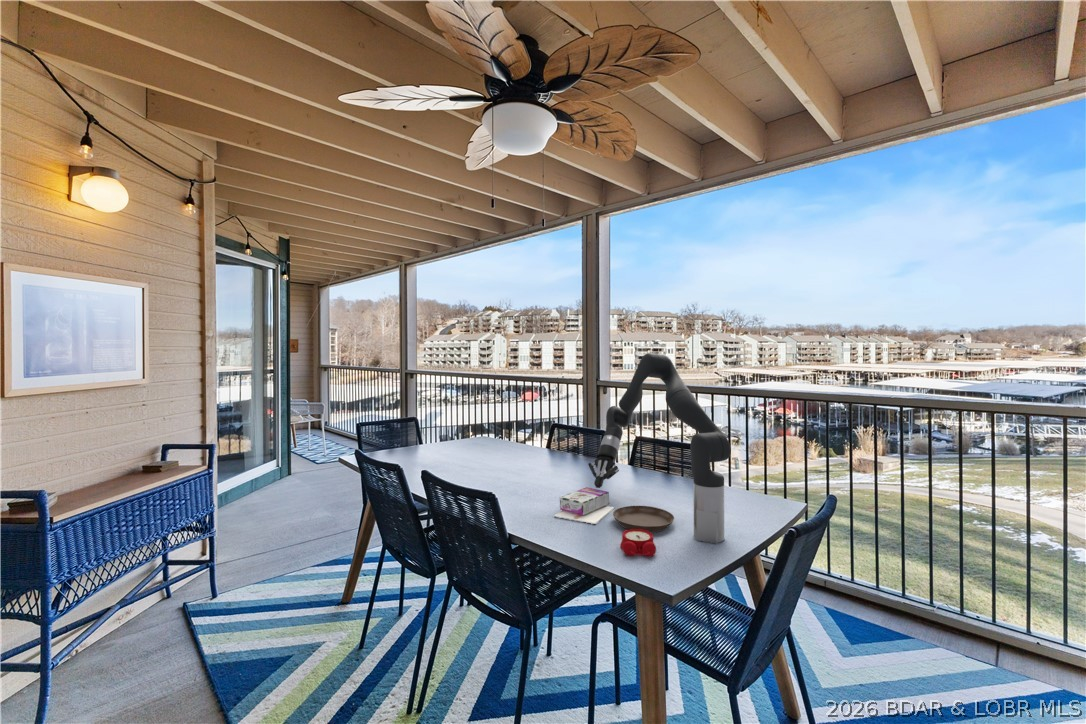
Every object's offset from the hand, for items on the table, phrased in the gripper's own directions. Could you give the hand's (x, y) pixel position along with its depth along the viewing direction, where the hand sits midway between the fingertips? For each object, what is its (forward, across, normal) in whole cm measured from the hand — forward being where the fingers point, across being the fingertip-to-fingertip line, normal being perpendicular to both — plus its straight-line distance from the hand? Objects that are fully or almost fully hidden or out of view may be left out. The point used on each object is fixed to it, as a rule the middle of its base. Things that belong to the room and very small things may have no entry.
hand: (597, 486), depth 180 cm
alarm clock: (+27, +26, -16) cm, 41 cm away
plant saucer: (+12, +21, -1) cm, 24 cm away
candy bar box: (+1, -1, +5) cm, 5 cm away
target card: (+12, -1, -2) cm, 12 cm away
